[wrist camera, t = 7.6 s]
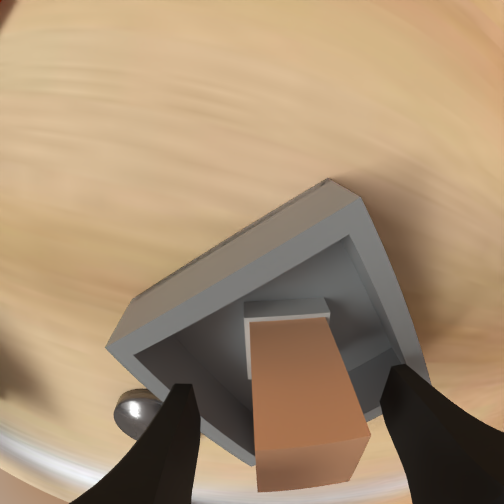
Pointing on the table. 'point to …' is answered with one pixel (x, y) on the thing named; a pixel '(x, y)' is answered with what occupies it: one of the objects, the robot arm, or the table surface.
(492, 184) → the table surface
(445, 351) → the table surface
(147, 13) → the table surface
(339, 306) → the bin
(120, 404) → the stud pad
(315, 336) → the strut
